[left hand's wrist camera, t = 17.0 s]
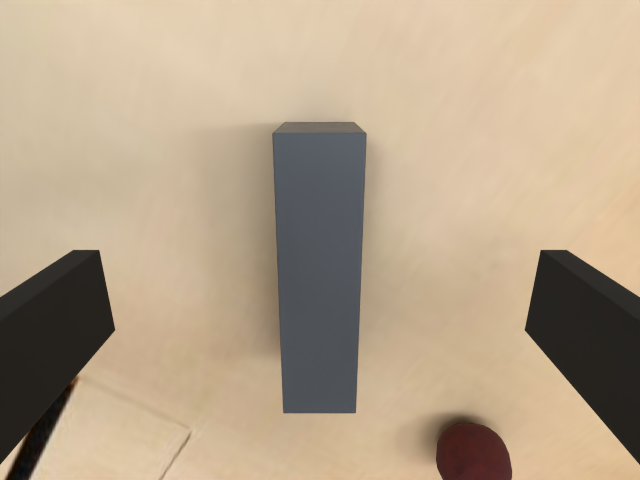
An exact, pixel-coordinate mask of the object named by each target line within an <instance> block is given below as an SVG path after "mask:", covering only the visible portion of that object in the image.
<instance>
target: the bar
mask: <svg viewBox="0 0 640 480" xmlns="http://www.w3.org/2000/svg"><path fill="white" fill-rule="evenodd" d="M273 158H274V184H275V210H276V236H277V262H278V288H279V314H280V340H281V366H282V392H283V413H356V395H357V368H358V342H359V316H360V290H361V264H362V238H363V212H364V185H365V159H366V133H365V132H364V131H363V130H362V129H361V128H360V127H359V126H358V125H357V124H356V123H354V122H285V123H284V124H283V125H281V126H280V127H279V128H278V129H277V130H276V131H275V132H274V133H273Z"/></svg>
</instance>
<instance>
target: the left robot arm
mask: <svg viewBox="0 0 640 480" xmlns="http://www.w3.org/2000/svg"><path fill="white" fill-rule="evenodd" d="M114 331H115V327H114V322H113V317H112V312H111V307H110V302H109V297H108V292H107V287H106V282H105V277H104V272H103V267H102V262H101V257H100V252H99V250H73V251H71V252H70V253H68V254H67V255H65V256H63V257H62V258H60V259H59V260H57V261H56V262H54V263H53V264H51V265H50V266H48V267H46V268H45V269H43V270H42V271H40V272H39V273H37V274H36V275H34V276H33V277H31V278H29V279H28V280H26V281H25V282H23V283H22V284H20V285H19V286H17V287H16V288H14V289H12V290H11V291H9V292H8V293H6V294H5V295H3V296H2V297H0V464H1V463H2V462H3V461H4V460H5V458H6V457H7V456H8V455H9V454H10V453H11V451H12V450H13V449H14V448H15V447H16V446H17V444H18V443H19V442H20V441H21V440H22V439H23V437H24V436H25V435H26V434H27V433H28V432H29V430H30V429H31V428H32V427H33V426H34V425H35V423H36V422H37V421H38V420H39V419H40V417H41V416H42V415H43V414H44V413H45V412H46V410H47V409H48V408H49V407H50V406H51V405H52V403H53V402H54V401H55V400H56V399H57V398H58V396H59V395H60V394H61V393H62V392H63V391H64V389H65V388H66V387H67V386H68V385H69V384H70V382H71V381H72V380H73V379H74V378H75V377H76V375H77V374H78V373H79V372H80V371H81V370H82V368H83V367H84V366H85V365H86V364H87V363H88V361H89V360H90V359H91V358H92V357H93V355H94V354H95V353H96V352H97V351H98V350H99V348H100V347H101V346H102V345H103V344H104V343H105V341H106V340H107V339H108V338H109V337H110V336H111V334H112V333H113V332H114ZM525 331H526V332H527V333H528V334H529V336H530V337H531V338H532V339H533V340H534V341H535V343H536V344H537V345H538V346H539V347H540V348H541V350H542V351H543V352H544V353H545V354H546V355H547V357H548V358H549V359H550V360H551V361H552V363H553V364H554V365H555V366H556V367H557V368H558V370H559V371H560V372H561V373H562V374H563V375H564V377H565V378H566V379H567V380H568V381H569V382H570V384H571V385H572V386H573V387H574V388H575V389H576V391H577V392H578V393H579V394H580V395H581V396H582V398H583V399H584V400H585V401H586V402H587V403H588V405H589V406H590V407H591V408H592V409H593V410H594V412H595V413H596V414H597V415H598V416H599V417H600V419H601V420H602V421H603V422H604V423H605V425H606V426H607V427H608V428H609V429H610V430H611V432H612V433H613V434H614V435H615V436H616V437H617V439H618V440H619V441H620V442H621V443H622V444H623V446H624V447H625V448H626V449H627V450H628V451H629V453H630V454H631V455H632V456H633V457H634V458H635V460H636V461H637V462H638V463H639V464H640V297H638V296H637V295H635V294H634V293H632V292H631V291H629V290H628V289H626V288H624V287H623V286H621V285H620V284H618V283H617V282H615V281H614V280H612V279H611V278H609V277H607V276H606V275H604V274H603V273H601V272H600V271H598V270H597V269H595V268H594V267H592V266H590V265H589V264H587V263H586V262H584V261H583V260H581V259H580V258H578V257H577V256H575V255H573V254H572V253H570V252H569V251H567V250H541V252H540V257H539V262H538V267H537V272H536V277H535V282H534V287H533V292H532V297H531V302H530V307H529V312H528V317H527V322H526V327H525Z"/></svg>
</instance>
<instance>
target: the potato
mask: <svg viewBox="0 0 640 480" xmlns="http://www.w3.org/2000/svg"><path fill="white" fill-rule="evenodd" d="M436 462H437V468H438V470H439V472H440V475H441V477H442V479H443V480H511V479H512V468H511V462H510V457H509V453H508V451H507V448H506V446H505V444H504V442H503V440H502V439H501V438H500V437H499V436H498V434H497V433H495V432H494V431H493V430H491V429H490V428H488V427H485V426H483V425H478V424H473V423H464V424H456V425H453V426H452V427H450V428H449V429H447V430H446V431H444V432H443V434H442V435H441V437H440V438H439V441H438V443H437V454H436Z"/></svg>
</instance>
